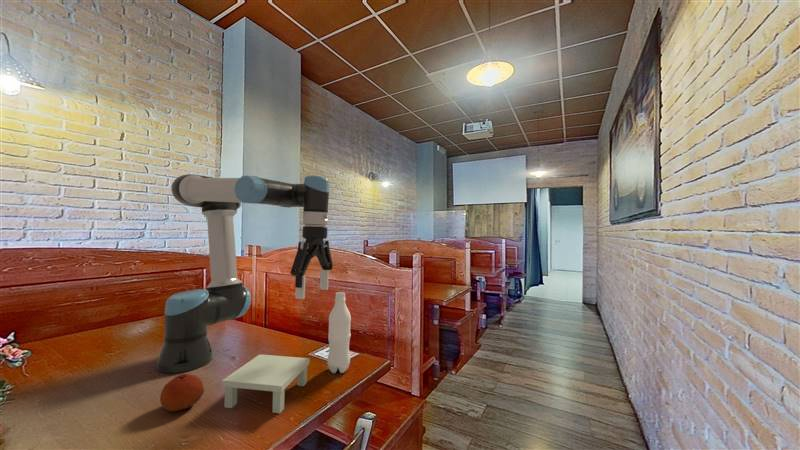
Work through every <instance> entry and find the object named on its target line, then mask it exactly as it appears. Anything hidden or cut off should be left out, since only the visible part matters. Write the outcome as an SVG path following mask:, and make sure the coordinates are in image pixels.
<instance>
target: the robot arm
mask: <svg viewBox="0 0 800 450" xmlns="http://www.w3.org/2000/svg"><path fill="white" fill-rule="evenodd" d="M329 184H330V183H329V179H328V178H327V177H325V176H319V175H307V176H304V181H303V183H290V182H289V183H288V182H284V181H279V180H274V179H273V180H272V179H268V178H262V177H259V176H255V175H243V176H242V175H241V176H240V177H212V176H205V175H200V174H193V173H192V174H191V173H190V174H188V173H187V174H183V175H179V176H178V177H177V178H175V179H174V180H173V182H172V184H171V189H170V190H171V193H172V196H173V198H174V199H175V200H177V201H178V202H179V203H180V204H183V205H185V206H188V207H193V208H201V214H202V215H203V217H205V218H206V220H207V221H206V222H207V235H208V236H207V237H208V250H209V264H210V265H209V266H210V283H209V284H208V285H207V286H206V289H205V288H195V289H189V290H184V291H179V292H177V293H174V294H172V295H171V296H170V297H168V298H166V301H165V307H164V312H163V313H164V332H163V333H164V335H163V337H164V338H163V341H164V342H163V345H162V347H161V350H160V352H159V355H158V358H157V360H156V365H155V366H156V367H155V368H156V371H157V372H159V373H163V374H177V373H178V374H179V373H184V372H188V371H192V370H196V369H199V368H201V367H204V366H205V365H208V364H209V363H210V362H211V361H212V360H213V349H212V347H211V344H210V341H209V338H208V327H209V326H213V325H217V324H220V323H223V322H227V321H233V320H236V319H237V318H240V317H243V316H244V315H245V314H246V313H247V311H248V310H249V308H250V305H251V301H252V295H251V292H250V291H249V288H247V286H244V285H243V281H242V280H241V279H239V277H238V266H237V265H238V264H237V254H236V253H237V252H236V250H237V249H236V238H235V237H236V236H235V225H234V224H235V223H234V216H235V215H236V214H237V213H238V209H239V208H241V206H242V204H243V203H244V204H255V205H257V204H258V205H259V204H260V205H269V206H270V205H271V206H279V207H281V208H282V207H283V208H303V213H302V225H304V226H303V227H302V236H301V237H302V238H303V239H305V241H299V242H298V243H297V244H298V246H297V251H296V253H295V257H294V261H293V263H292V266H291V269H290V275H291V276H293V277H295V280H294V282H295V284H294V286H295V292H294V293H295V294H294V298H295V299H299V300H304V299H306V298H305V296H306V280H307V279H306V275H305V273H306V271H307V269H308V268H309V265H310V264H311V261H312V259H314V257H316V259H317V261H318V262H319V264H320V267H321V269H320V272H319V273H320V277H319V278H320V279H319V280H320V281H319V290H322V291H328V290H329V280H330V279H329V275H330V271H332V270H333V267H334V265H333V264H334V263H333V260H332V255H331V250H330V241H329V240H325V239H327V238H328V227H327V225H328V222H329V197H330V185H329Z"/></svg>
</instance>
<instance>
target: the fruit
mask: <svg viewBox="0 0 800 450" xmlns="http://www.w3.org/2000/svg"><path fill="white" fill-rule="evenodd" d="M204 392H205V388H204V383H203V380H202V379H201V378H200V377H198V376H196V375H194V374H187V373H181V374H180V375H177V376H175V377H174V378H172V379H170V380H169V381H168V382H167V383H166V384H165V385H164V387H163V388H162V390H161V392H160V396H159V401H160V404H161V406H162V407H163V408H164V409H165V410H167V411H169V412H177V411H182V410H186V409H188V408H191V406H193V405H195V404H196V403H197V402H199V400H200V399H201V397H202V396H203V395H204Z"/></svg>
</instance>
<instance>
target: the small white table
mask: <svg viewBox="0 0 800 450" xmlns="http://www.w3.org/2000/svg"><path fill="white" fill-rule="evenodd" d="M310 359H311V358H309V357H308V358H306V357H297V356H296V357H295V356H284V355H275V354H274V355H270V354H262V353H261V354H260V353H259V354H258V355H256V356H255V357H254V358H252V359H251V360H250V361H248V362H247V363H245V364H243V365H242V366H240V367H239V368H237V370H235V371H233V372H231V374H229V375H228V376H227V377H225V378H224V379H222V380H221V387H224V408H227V409H233V408H234V407H235V406H236V405H237V403H238V389H244V390H254V391H255V390H256V391H265V392H272V413H274V414H281V413H282V412H283V411H284V410H285V392H286V391H285V390H286V388H287V387H288V386H289V385H290V384H291V383H292V382H293V381H294V380H295V379H296V378H297V380H296V381H297V382H296V386H297V385H298V387H305V385H307V383H308V377H307V376H308V366H309V364H310Z"/></svg>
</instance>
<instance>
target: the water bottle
mask: <svg viewBox="0 0 800 450" xmlns="http://www.w3.org/2000/svg"><path fill="white" fill-rule="evenodd" d="M346 300H347V298H346V292H344V291H337V292H335V298H334V305H333V307H332V309H331V311H330V313H329V316H328V335H327V339H328V345H329V346H328V356H327V367H328V368H329V371H330V372H331V374H336V373H337V372H339V373H340V374H344V373H345V372H347V370H348V369H349V367H350V363H351V356H350V340H351V336H352V334H351V320H352V316H351V313H350V310H349V308H348V306H347V304H346Z"/></svg>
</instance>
